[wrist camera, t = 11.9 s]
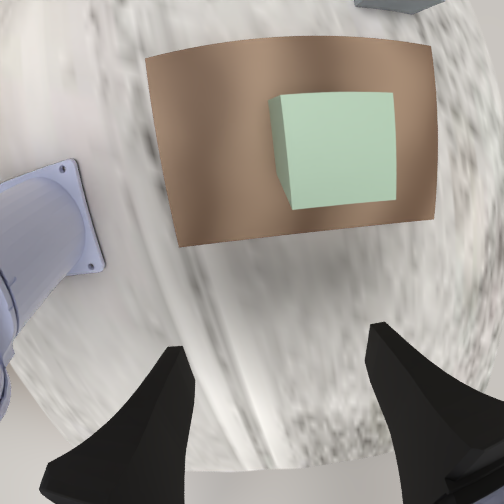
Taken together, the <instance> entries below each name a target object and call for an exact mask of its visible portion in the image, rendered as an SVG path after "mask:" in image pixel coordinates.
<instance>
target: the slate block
mask: <svg viewBox="0 0 504 504" xmlns="http://www.w3.org/2000/svg"><path fill="white" fill-rule="evenodd" d="M442 2H445V0H354V3H355V7H366V8H374V9H382V10H389V11H396V12H402V13H407V14H415V13H417V12H420V11H422V10H424V9H427V8H429V7H432V6H434V5H437V4H439V3H442Z"/></svg>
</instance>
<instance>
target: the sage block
mask: <svg viewBox="0 0 504 504" xmlns="http://www.w3.org/2000/svg"><path fill="white" fill-rule="evenodd" d="M268 105H269V113H270V121H271V129H272V138H273V146H274V155H275V164H276V173H277V176H278V178H279V181H280V183H281V185H282V187H283V190H284V192H285V194H286V196H287V199H288V201H289V203H290V206H291V208H292V210H296V209H305V208H314V207H324V206H334V205H344V204H354V203H365V202H376V201H388V200H396V131H395V113H394V99H393V93H387V92H321V93H301V94H287V95H279V96H277V97H274V98H272V99H270V100H268Z"/></svg>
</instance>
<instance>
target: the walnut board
mask: <svg viewBox="0 0 504 504" xmlns="http://www.w3.org/2000/svg"><path fill="white" fill-rule="evenodd" d="M145 62H146V70H147V78H148V85H149V92H150V99H151V106H152V112H153V118H154V125H155V131H156V137H157V142H158V148H159V154H160V159H161V164H162V170H163V175H164V180H165V185H166V190H167V195H168V200H169V204H170V209H171V214H172V218H173V223H174V227H175V232H176V236H177V241H178V245H179V247H187V246H195V245H203V244H212V243H220V242H228V241H237V240H245V239H254V238H263V237H271V236H280V235H289V234H298V233H307V232H316V231H325V230H334V229H344V228H353V227H362V226H372V225H382V224H392V223H401V222H412V221H422V220H432V219H434V213H435V201H436V187H437V163H438V125H437V101H436V87H435V76H434V66H433V58H432V51H431V46H428V45H422V44H416V43H409V42H402V41H394V40H386V39H376V38H363V37H346V36H289V37H272V38H259V39H249V40H240V41H232V42H224V43H217V44H211V45H205V46H199V47H194V48H189V49H184V50H179V51H174V52H170V53H165V54H161V55H157V56H153V57H149V58H145ZM321 92H387V93H393V99H394V113H395V131H396V200H388V201H376V202H365V203H354V204H344V205H334V206H324V207H314V208H305V209H296V210H292V208H291V206H290V203H289V201H288V199H287V196H286V194H285V192H284V190H283V187H282V185H281V183H280V181H279V178H278V176H277V173H276V164H275V155H274V146H273V138H272V129H271V121H270V113H269V105H268V100H270V99H272V98H274V97H277V96H279V95H287V94H301V93H321Z"/></svg>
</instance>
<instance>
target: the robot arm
mask: <svg viewBox="0 0 504 504" xmlns="http://www.w3.org/2000/svg"><path fill="white" fill-rule="evenodd" d="M62 166H65V168H66V171H65V172H64V171H63V169H62ZM90 264H93V265H94V267H92V266H91V265H90ZM104 268H105V262H104V260H103V257H102V254H101V250H100V247H99V244H98V241H97V238H96V235H95V231H94V228H93V225H92V221H91V218H90V214H89V211H88V207H87V203H86V200H85V196H84V192H83V188H82V184H81V180H80V175H79V171H78V167H77V163H76V161H75V160H73V159H67V160H64V161H61V162H58V163H55V164H52V165H49V166H46V167H43V168H40V169H37V170H35V171H32V172H29V173H26V174H24V175H21V176H18V177H16V178H13V179H11V180H8V181H6V182H3V183H1V184H0V421H1V420H2V418H3V417H4V415H5V413H6V411H7V408H8V405H9V402H10V397H11V383H10V378H9V375H8V372H7V370H6V366H7V365H8V363H9V362H10V360H11V359H12V357H13V356H14V354H15V353H14V350H13V341H14V339H15V337H16V336H17V335H18V333H19V332H20V331H21V329H22V328H23V327H24V326H25V324H26V323H27V322H28V320H29V319H30V318H31V316H32V315H33V314H34V313H35V311H36V310H37V309H38V308H39V306H40V305H41V304H42V303H43V301H44V300H45V299H46V298H47V297H48V295H49V294H50V293H51V292H52V291H53V289H54V288H55V287H56V286H57V285H58V284H59V282H60V281H61V280H62V279H63V278H64V277H65V276H69V275H78V274H87V273H96V272H101V271H102V270H103V269H104ZM365 364H366V368H367V372H368V375H369V379H370V383H371V385H372V388H373V390H374V393H375V395H376V398H377V400H378V402H379V405H380V407H381V410H382V412H383V415H384V417H385V420H386V423H387V425H388V428H389V431H390V434H391V438H392V442H393V446H394V450H395V454H396V459H397V465H398V470H399V476H400V482H401V489H402V498H403V504H504V401H501V400H498V399H496V398H493V397H491V396H488V395H486V394H484V393H481V392H479V391H477V390H475V389H473V388H471V387H469V386H467V385H466V384H464V383H462V382H460V381H459V380H457V379H455V378H454V377H452V376H451V375H449V374H447V373H446V372H444V371H443V370H442V369H440V368H439V367H437V366H436V365H435V364H433V363H432V362H431V361H429V360H428V359H427V358H426V357H424V356H423V355H422V354H421V353H420V352H418V351H417V350H416V349H415V348H414V347H412V346H411V345H410V344H409V343H408V342H407V341H406V340H405V339H403V338H402V337H401V336H400V335H399V334H398V333H397V332H396V331H395V330H393V329H392V328H391V327H390V326H389V325H388V324H387V323H386V322H380V323H375V324H370V330H369V337H368V343H367V350H366V356H365ZM194 398H195V378H194V376H193V373H192V370H191V368H190V365H189V362H188V359H187V357H186V354H185V351H184V348H183V346H173V347H167V348H166V350H165V351H164V353H163V354H162V355H161V357H160V358H159V360H158V361H157V363H156V364H155V366H154V367H153V368H152V370H151V371H150V373H149V374H148V375H147V377H146V378H145V379H144V381H143V382H142V383H141V385H140V386H139V387H138V389H137V390H136V391H135V392H134V394H133V395H132V396H131V397H130V399H129V400H128V401H127V402H126V403H125V404H124V406H123V407H122V408H121V409H120V410H119V411H118V412H117V413H116V414H115V415H114V416H113V417H112V418H111V419H110V420H109V421H108V422H107V423H106V424H105V425H104V426H102V427H101V428H100V429H99V430H98V431H97V432H95V433H94V434H93V435H92V436H91V437H89V438H88V439H87V440H85V441H84V442H83V443H81V444H80V445H78V446H77V447H75V448H74V449H72V450H71V451H69V452H67V453H66V454H64V455H62V456H61V457H58V458H57V459H55V460H53V461H51V462H49V463H48V465H47V467H46V471H45V473H44V476H43V478H42V481H41V484H40V488H39V490H40V492H41V494H42V495H44V496H45V497H46V498H47V499H49V500H51V501H52V502H53V503H55V504H184V475H185V455H186V448H187V442H188V436H189V430H190V425H191V419H192V413H193V407H194Z"/></svg>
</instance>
